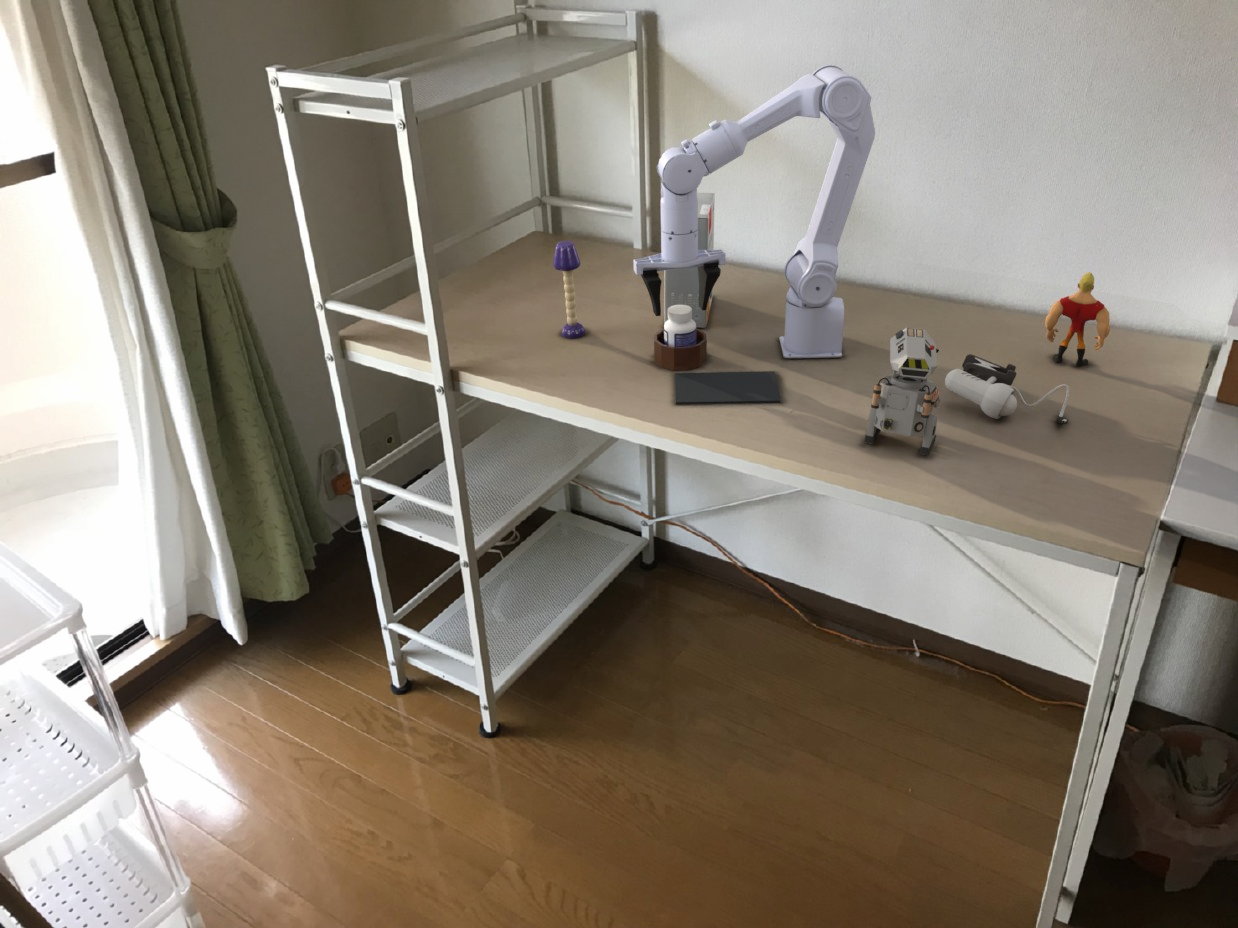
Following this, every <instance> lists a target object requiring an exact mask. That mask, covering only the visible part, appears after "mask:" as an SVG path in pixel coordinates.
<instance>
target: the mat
mask: <svg viewBox="0 0 1238 928" xmlns="http://www.w3.org/2000/svg"><path fill="white" fill-rule="evenodd" d="M674 397H675V401H674V403H675V405H719V404H720V405H721V404H722V405H725V404H773V403H774V404H778V403H779V404H781V403H782V398H781V395H780V389H779V385H778V380H777V375H776V371H774V370H773V371H772V370H768V371H725V372H724V371H720V372H719V371H718V372H717V371H716V372H715V371H714V372H674Z"/></svg>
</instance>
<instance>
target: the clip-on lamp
mask: <svg viewBox="0 0 1238 928" xmlns="http://www.w3.org/2000/svg"><path fill="white" fill-rule="evenodd" d="M961 367H962V369H960V368H955V369H952V370H950V371H948V373H947V374H946V376H945V379H944V384H945V388H946V389H947V390H948V391H950V392H952V393H954V394H956V395H958V396H960V397H962V398H964V399H966V400H968V401H970V402H972V403H974V404H976V405H977V406H979V407H980V409H981V410H982V412H983V414H985V415H986V416H988V417H989V418H992V419H996V420H997V419H1000V418H1001V417H1004V416H1009V415H1011V414H1013V413H1014V412H1015V411H1016V409H1017V407H1018V400H1017V398H1016V396H1015V395H1014V394H1015V393H1016V395H1017V396H1018V398H1019V400H1020V402H1021V404H1022V405H1023V406H1024V407H1025V408H1028V409H1030V408H1033V407H1036V406H1038V405H1039V404H1041V403H1042V402H1043V401H1044V400H1046V399H1047V398H1048V397H1050V396H1051V395H1052V394H1053V393H1055V392H1056V391H1058V390H1059V389H1061V388H1065V389H1066V395H1065V398H1064V401H1063V404H1062V405H1061V409H1060V411H1059V413H1058V416H1057V417H1056V420H1055V421H1057V423H1058V424H1060V425H1063V424H1066V425H1067V424H1068V423H1069V418H1066V417H1064V413H1065V410H1066V407H1067V405H1068V401H1069V398H1070V393H1071V391H1070V390H1071V389H1070V386H1069V385H1068V384H1066V383H1065V384H1064V383H1063V384H1060V385H1057V386H1056V387H1054V388H1052V389H1051V390H1049V392H1047V393H1046V394H1044V395H1043V396H1042V397H1040V398H1039V399H1038V400H1036V401H1035V402H1033V403H1030V404H1029V403H1027V402H1026V401H1025V400H1024V398H1023V396H1022V393H1021V392H1020V390H1019V389H1018V388H1017V387H1015V386H1013V382H1014V381H1015V379H1016V376H1017V371H1016V369H1017V366H1016V365H1014V364H1012V363H1008V364H1007V365H1006V367H1005V366H1002V365H1000V364H997V363H994V362H992V361H991V360H987V359H984V358H982V357H979V356H977V355H975V354H971V353H969V354H967V355H966V356H965V358H964V360H963V362H962V365H961Z"/></svg>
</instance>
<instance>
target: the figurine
mask: <svg viewBox="0 0 1238 928" xmlns="http://www.w3.org/2000/svg"><path fill="white" fill-rule="evenodd" d="M889 340H890V341H889V345H890V346H889V347H890V348H889V362H890V366H891V370H892V371H893V374H892V375H886V376H885V377H882V378H880V379H879V380H878V383H876V384H874V388H873V394H872V397H871V398H872V399H871V405H870V410H869V416H868V421H867V428H866V433H865V436H864V440H863V441H864V442H863V443H866V444H870V445H873V444H874V443H875V441H876V439H877V438H878V437H879V435H880V433H881V432H887V433H891V434H896V435H901V436H904V437H905V436H906V437H911V438H912V437H922V436H923V439H922V443H921V446H920V449H919V454H920V455H924V456H929V455H930V453H931V450H932V449H933V448H934V445H935V443H936V440H937V438H936V437H937V435H936V431H937V425H938V424H937V423H938V416H937V415H933V414H932V413H933V408H934V409H937V408H941V401H942V398H940V397H941V395H940V393H939V390H938V388H937V387H938V383H936V382H934V381H931V380H929V379H928V377H929V376H930V375H932V374H933V373H934V371H935V370H936V368H937V367H938V359H937V358H938V357H937V354H938V353H939V351H940V349H939V348H937V344H936V342H935V341H934V339H933V338H932V337H931V335H929V334H928V332H927V331H926V329H924V328H923V329H922V328H913V327H912V328H911V327H905V328H904V329H900V330H898V331H897V332H896V333H895V335H894V336H892V337H891V338H890V339H889ZM897 372H898V373H897Z"/></svg>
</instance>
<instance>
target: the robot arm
mask: <svg viewBox="0 0 1238 928" xmlns="http://www.w3.org/2000/svg"><path fill="white" fill-rule="evenodd" d="M871 102H872V95H871V94H870V92H869V91H868V89H867V88H866V87H865V85H864V84H863V83H862V81H861V80H860V79H858V78H857V77H855V76H853V75H850V74H849V73H847V72H845V71H844V70H843V69H842V68H841V67H840V66H837V65H834V64H827V65H823V66H820V67H818V68H817V69H815V70H814V71H813V72H812V73H808V74H805V75H803V76H801V77H800V78H799V79H797V80H796V81H795V82H793V83H792V84H791V85H789V86H788V87H787V88H785V89H784V90H782V91H781V92H779V93H777V94H776V95H774V96H773V97H772V98H770V99H769V100H767V101H765V102H763V104H761V105H760V106H758V107H756V108H755V109H754V110H752V111H751V112H749V113H748V114H746V115H745V116H743V117H741V118H740V119H739V120H737V121H732V120H728V119H723V120H721V121H720V122H718V120H716V119H715V120H713V121H711V122H710V123H709V124H708V126H709V128H708V129H706V130H705V131H702V133H699V134H698V135H696V136H695V137H694V138H691V139H690V140H688V139H687V138H686V139H684V140H683V141H681V143H680V144H681V146H673V147H670V148H668V149H667V150H665V151H664V152H663V153H662V154H661V157H660V158H659V160H658V164H657V165H656V172H657V174H658V176H659V177H660V179H661V180H662V182H661V189H660V195H661V198H660V251H661V252H660V253H657V254H653V255H648V256H645V257H641V258H636V259H635V258H634V259H633V272H634V274H635V275H636V276H640V277H641V278H642V280H643V283H644V285H645V287H646V289H647V292H648V296H649V298H650V301H651V306H652V311H653V314H654V315H655V317H661V316H662V315H661V314H662V307H661V288H662V279H661V278H660V274H659V272H662V271H663V272H664V270H672V269H680V268H689V267H698V277H699V297H698V301H699V307H700V308H701V309H702V311H703V310H706V309H707V304H708V300H709V297H710V294H711V291H712V289H713V290H714V286H715V285H716V282H717V281H718V279H719V278H720V276H721V272H722V271H721V270H722V269H721V268H720V266H725V265H726V252H725V251H724V250H723V249H721V248H720V249H714V250H698V199H697V193H698V188H699V186H700V184H701V183H702V180H703V178H704V177H707V176H709V175H711V174H712V173H714V172H716V171H718V170H720V169H721V168H723V167H725V166H726V165H728V164H730V163H732V162H733V161H734V160H736V159H738V158H740V157H742V155H744V153H745V150H746V147H747V144H748V143H749V142H751V141H752V140H755V139H756V138H757V137H760V136H762V135H763V134H765V133H767V132H769V131H771V130H773V129H775V128H777V127H778V126H780V125H782V124H784V123H786V122H788V121H789V120H792V119H793V118H795V117H804V118H812V119H821V114H823V116H825V117H826V119H827V121H828V122H829V124H830V126H831V128H832V130H833V131H834V134H835V135H836V137H837V138H836V141H835V145H834V148H833V151H832V153H831V157H830V160H829V163H828V167H827V169H826V172H825V176H824V179H823V181H822V185H821V188H820V191H819V193H818V196H817V200H816V204H815V205H814V209H813V213H812V216H811V218H810V222H809V226H808V228H807V231H806V234H805V236H804V237H803V238H802V239H801V240H799V241H798V242H797V246H796V248H795V250H794V252H793V253H792V255H790V257H789V258H788V259H787V261H786V263H785V265H784V270H783V271H784V273H783V274H784V277H785V279H786V281H787V282H788V283H789V284H790V285H789V288H788V291H787V293H786V298H785V316H784V317H785V318H784V335H782V336H779V344H780V347H781V352H782V355H783V358H784V359H824V358H827V359H829V358H842V356H843V353H842V350H843V341H844V340H843V339H844V328H845V327H844V326H845V303H844V300H843V298H842V297H835V294H836V291H837V287H838V286H837V285H838V284H837V283H838V282H837V272H838V268H839V254H838V247H839V243H840V240H841V237H842V235H843V232H844V228H845V225H846V223H847V220H848V218H849V213H850V211H851V208H852V205H853V203H854V200H855V195H856V194H857V191H858V188H859V184H860V183H861V179H862V177H863V174H864V170H865V168H866V164H867V161H868V159H869V156H870V154H871V153H870V152H871V149H872V146H873V144H874V140H875V137H876V127H875V122H874V117H873V112H872V107H871V106H872V105H871Z"/></svg>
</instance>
